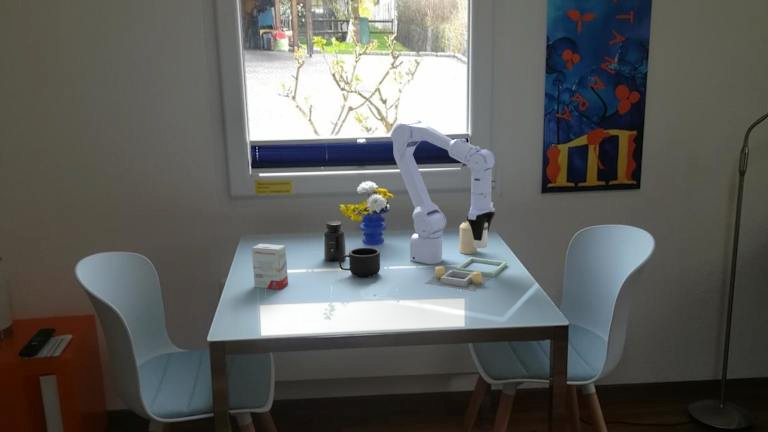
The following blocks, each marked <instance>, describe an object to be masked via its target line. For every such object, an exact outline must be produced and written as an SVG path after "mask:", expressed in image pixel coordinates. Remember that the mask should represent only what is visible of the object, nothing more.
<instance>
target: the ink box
mask: <svg viewBox="0 0 768 432" xmlns="http://www.w3.org/2000/svg"><path fill="white" fill-rule="evenodd" d="M286 251H287V250H286V245H281V244H271V243H270V244H269V243H258V244H257V245H254V246H253V247H252V248H251V254H252V255H251V256H252V271H253V280H254V281H253V283H254V284H253V285H254V288H259V289H260V288H261V289H269V290H270V289H272V290H283V289H284V288H286V287H287V286H288V285H289V281H288V280H289V278H288V264H287V263H288V262H287V252H286Z"/></svg>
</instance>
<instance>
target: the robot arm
mask: <svg viewBox="0 0 768 432" xmlns="http://www.w3.org/2000/svg"><path fill="white" fill-rule="evenodd" d="M390 138H391V140H392V148H393V149H392V153H393V157H394V160H395V162H396V163H395V164H396V165H397V167H398V169H399V172H400V175H401V177H402V180H403V182H404V186H405V188H406V190H407V192H408V194H409V198H410V199H411V202H412V205H413V206H414V210H413V213H412V215H411V216H412V220H413V227H414V231H415V233H413V234H412V235H411V239H410V243H409V245H410V246H409V252H410V254H409V257H410V258H409V260H410V262H417V263H422V264H427V265H435V264H440V263H441V262H443V231H444V229H445V228H446V225H447V218H446V216H445V214H444V213H443V212H442V211H441V210H440V207H439V206H438V205H437V204H436V203H434V202H432V200H431V196H430V194H429V191H428V189H427V186H426V184H425V182H424V180H423V177H422V174H421V172H420V168H419V167H418V164H417V162H416V160H415V158H414V157H415V156H414V155H413V154H414V152H415V149H416V148H417V146H418V145H419V144H420V143H421V142H423V141H426V142H429V143H430V144H432V145H435V146H437V147H439V148H442V149H445V150H446V151H447V152H448V155H449V157H450V158H452V159H455V160H456V161H459V162H460V163H462V164H465V165H466V166H468V169H469V170H470V173H471V179H470V180H471V182H470V183H471V184H470V185H471V186H470V187H471V189H470V190H471V191H470V195H471V197H470V208H469V212H468V215H467V216H466V221H468V222H469V224H470V226H471V229H472V234H473V238H474V240H478V241H481V240H482V236H483V229H484V225H485V222H487V223H488V233H489V232H490V231H489V230H490V226H491V223H492V220H493V219H494V217H495V215H496V212H495V210H496V208H495V207H494V202H492V179H493V178H492V174H493V173H492V171H493V170H492V168H493V167H494V166H495V164H496V156H495V154H494V153H493V152H492V151H490V149H487V148H484V149H481V147H480V146H478V145H477V146H475V145H473V144H471V143H469V142H467V139H466V138H455V139H452V138H451V137H449V136H447V135H445V134H443V133H442V132H440V131H438V130H436V129H435V128H433V127H431V126H430V125H429V124H428V123H426V122H422V121H421V120H419V119H414V120H412V121H406V122H399V123H396V124H395V125H394V127H393V129H392V131H391V133H390Z"/></svg>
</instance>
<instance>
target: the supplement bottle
mask: <svg viewBox="0 0 768 432" xmlns="http://www.w3.org/2000/svg"><path fill="white" fill-rule="evenodd" d="M325 229H326V230H325V231H324V232H323V235H322V236H323V258H324V261H326V262H329V263H340V259H341V257H342V256H344V255H347V251H346V245H347V244H346V232H345V231H344V230H343V226H342V222H341V221H339V220H330V221H326V223H325ZM346 258H347V257H345V258H343V260H342V262H344V261H345V260H346Z"/></svg>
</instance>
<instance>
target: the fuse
mask: <svg viewBox="0 0 768 432" xmlns="http://www.w3.org/2000/svg"><path fill="white" fill-rule="evenodd" d="M488 235H489V232H488V223H487V222H485V225H484V229H483V236H482V240H481V241H478V240H474V247H476V248H477V249H485V248H486V249H487V247H488Z"/></svg>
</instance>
